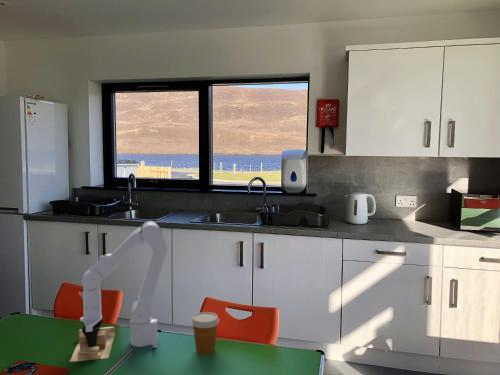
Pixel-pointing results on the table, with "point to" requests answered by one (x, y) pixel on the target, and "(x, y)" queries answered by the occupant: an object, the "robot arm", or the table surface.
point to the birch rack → (104, 352)
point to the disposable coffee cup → (205, 331)
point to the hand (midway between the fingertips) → (93, 343)
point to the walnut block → (100, 341)
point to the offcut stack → (89, 353)
